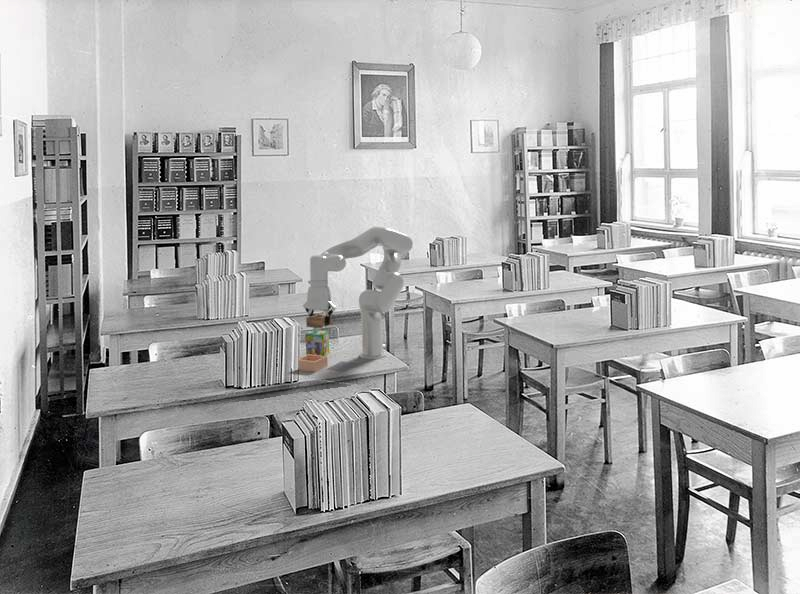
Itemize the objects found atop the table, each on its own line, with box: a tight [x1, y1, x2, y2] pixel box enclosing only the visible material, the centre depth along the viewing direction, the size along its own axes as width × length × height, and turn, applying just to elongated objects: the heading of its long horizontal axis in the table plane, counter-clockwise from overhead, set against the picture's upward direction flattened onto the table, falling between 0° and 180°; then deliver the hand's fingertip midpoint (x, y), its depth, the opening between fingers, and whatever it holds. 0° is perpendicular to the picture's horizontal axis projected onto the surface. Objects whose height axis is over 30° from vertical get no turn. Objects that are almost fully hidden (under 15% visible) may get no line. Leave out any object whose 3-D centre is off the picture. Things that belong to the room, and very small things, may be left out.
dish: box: [298, 354, 329, 373], centre depth 326 cm, size 10×10×5 cm
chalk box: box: [304, 327, 330, 357], centre depth 346 cm, size 9×9×15 cm
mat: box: [325, 360, 362, 372], centre depth 327 cm, size 14×10×1 cm
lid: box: [305, 313, 334, 329], centre depth 322 cm, size 11×7×5 cm, turn 157°
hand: (319, 323), depth 322 cm, fingers closed on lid, 7 cm apart
